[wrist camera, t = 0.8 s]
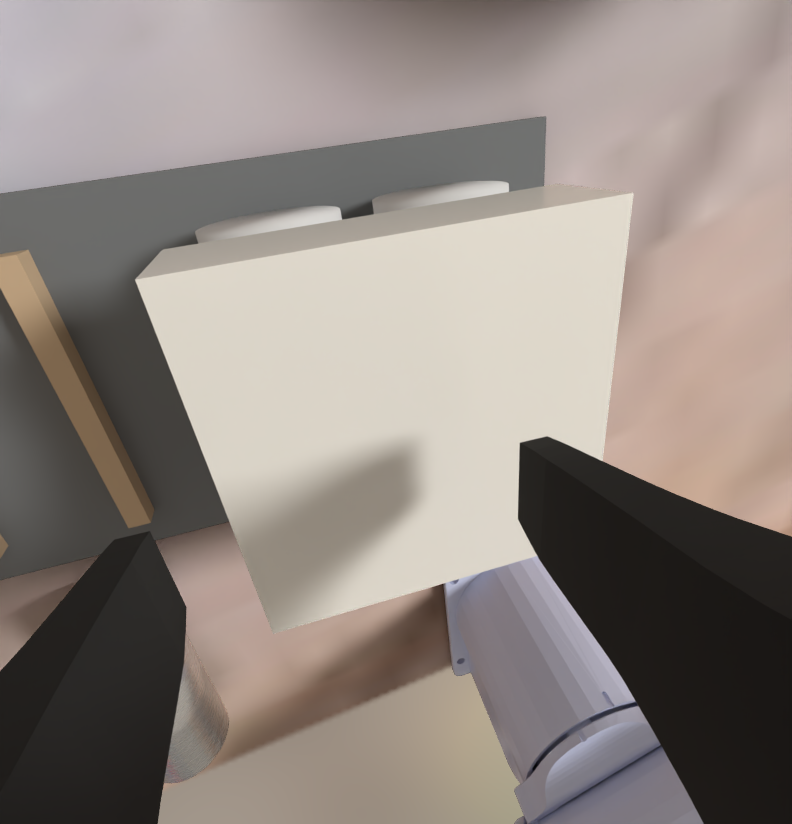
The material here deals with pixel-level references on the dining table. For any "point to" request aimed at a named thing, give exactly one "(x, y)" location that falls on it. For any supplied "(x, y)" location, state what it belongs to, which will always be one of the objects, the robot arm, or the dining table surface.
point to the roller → (195, 722)
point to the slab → (391, 382)
